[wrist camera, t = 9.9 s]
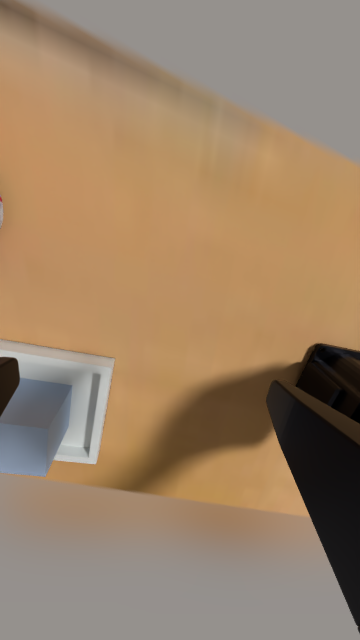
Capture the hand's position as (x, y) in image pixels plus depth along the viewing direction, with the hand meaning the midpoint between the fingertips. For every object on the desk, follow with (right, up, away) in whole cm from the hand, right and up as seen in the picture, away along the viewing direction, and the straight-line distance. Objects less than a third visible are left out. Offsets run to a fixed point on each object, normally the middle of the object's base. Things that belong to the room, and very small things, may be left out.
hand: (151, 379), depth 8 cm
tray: (-12, -6, +14) cm, 19 cm away
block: (-12, -6, +14) cm, 19 cm away
